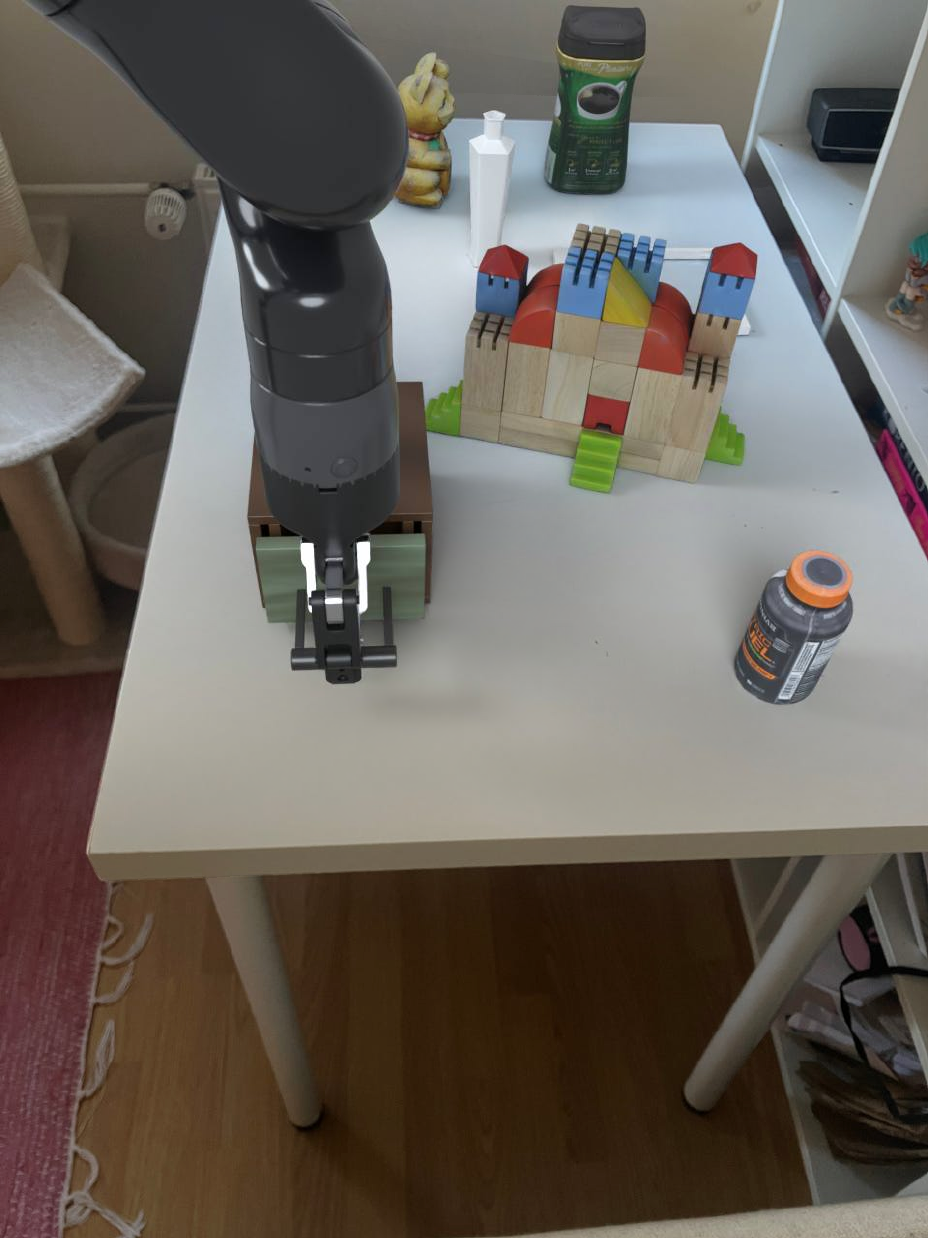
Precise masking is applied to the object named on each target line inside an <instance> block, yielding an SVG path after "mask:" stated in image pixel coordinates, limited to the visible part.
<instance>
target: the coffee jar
mask: <svg viewBox="0 0 928 1238" xmlns="http://www.w3.org/2000/svg"><path fill="white" fill-rule="evenodd" d="M646 38H647V25H646V18H645V15H644V12H643V11H642V10H641V8H640V7H637V6H636V7H619V6H618V7H617V6H587V5H573V4H568V5H567V6H566V7H565V9H564V12H563V15H562V19H561V25H560V28H559V32H558V36H557V39H556V47H555V54H556V60H557V64H558V70H559V75H558V84H557V85H558V86H557V94H556V101H555V106H554V111H553V117H552V121H551V127H550V130H549V131H550V132H549V137H548V142H547V146H546V152H545V157H544V168H543V170H544V171H543V172H544V173H543V174H544V177H545V178H544V179H545V181H546V182H547V184H548V185H549V186H550V187H552V188H553V189H555V190H556V191H558V192H562V193H569V194H590V195H591V194H592V195H597V194H598V195H600V194H613V193H616V192H617V191H618V190H620V189H621V188H622V187H624V185H625V183H626V176H627V170H628V169H627V168H628V155H629V139H630V138H629V136H630V135H629V134H630V121H631V109H632V99H633V92H634V86H635V82H636V78H637V75H638V73H639V72H640V70H641V68H642V66H643V64H644V61H645V58H646V46H647V45H646V44H647V40H646Z"/></svg>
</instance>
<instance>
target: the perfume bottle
mask: <svg viewBox="0 0 928 1238" xmlns="http://www.w3.org/2000/svg"><path fill="white" fill-rule="evenodd" d="M482 114H483V117H484V120H483V121H484V122H483V133H481V134H480V135H478V136H475V137H473V138H471V139H469V140H468V153H469V155H468V156H469V201H470V203H469V204H470V205H469V206H470V245H469V248H468V251H467V254H466V257H467V258H468V260H469V261H470V263H471V264H472V266H473V267H475V268H479V266H480V264H481V262H482V260H483V258H484V256H485V254H486V252H487V250H488V249H490V248H494V247H497V246H501V245H502V244H501V243H502V237H503V236H502V235H503V230H504V222H505V218H506V217H505V216H506V209H507V203H508V196H509V190H510V183H511V175H512V170H513V169H512V168H513V162H514V155H515V149H516V140H514V139H512V138H510V137H508V136H507V135H504V127H505V125H504V122H505V118H506V116H507V114H506V113H504V112H501V111H499V110H495V109H494V110H489V111H487V112H484V113H482Z"/></svg>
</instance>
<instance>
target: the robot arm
mask: <svg viewBox="0 0 928 1238" xmlns="http://www.w3.org/2000/svg"><path fill="white" fill-rule="evenodd" d="M21 1H22V2H23V3H24V4H26V5H27V6H29V8H31V9H32V10H33V11H34V12H36V13H37V14H39V15H40V16H42V18H44V19H45V20H46V21H48V22H49V23H50V24H52V25H53V26H54V27H56V28H57V29H58V30H59V31H60V32H62V33H63V34H65V36H68V37H69V38H71V39H72V40H74V41H75V42H76V43H78V44H79V45H81V46H82V47H83V48H84V49H86V50H87V51H89V52H90V53H91V54H93V56H95V57H96V58H97V59H98V60H100V61H101V62H102V63H103V64H104V65H105V66H106V67H107V68H108V69H109V70H111V71H112V72H113V73H114V74H115V75H116V76H117V77H118V78H119V79H120V80H121V81H122V82H123V83H124V84H125V86H127V87H128V88H129V89H130V90H131V92H132V93H133V94H134V95H135V96H136V97H137V98H138V99H139V100H140V102H142V103H143V105H144V106H145V107H146V108H147V109H148V110H150V112H151V113H152V114H153V115H154V116H155V117H156V118H157V119H159V121H160V122H162V124H163V125H165V126H166V128H168V130H169V131H170V132H171V133H173V134H174V136H176V137H177V138H178V139H179V140H180V141H181V143H183V145H185V146H186V147H187V149H189V150H190V152H192V153H193V154H194V156H196V157H197V158H198V159H199V160H200V161H201V162H202V163H203V164H204V165H205V166H206V167H207V168H208V169H209V170H210V171H212V172H213V173H214V176H215V180H216V183H217V188H218V192H219V196H220V199H221V203H222V207H223V211H224V215H225V220H226V224H227V227H228V230H229V234H230V238H231V240H232V244H233V249H234V255H235V261H236V267H237V273H238V281H239V282H238V283H239V295H240V297H239V299H240V308H241V317H242V323H243V329H244V335H245V343H246V350H247V356H248V361H249V362H248V363H249V372H250V373H249V374H250V379H249V381H250V382H249V383H250V384H249V401H250V410H251V417H252V418H251V419H252V424H253V430H254V432H255V437H256V444H257V450H258V457H259V463H260V469H261V476H262V482H263V489H264V495H265V500H266V504H267V506H268V508H269V510H270V512H271V514H272V515H273V516H274V518H275V519H276V520H277V521H278V522H279V523H280V524H282V525H283V526H284V527H286V528H287V529H289V530H290V531H292V532H294V533H296V534H299V535H301V560H302V563H303V564H304V566H305V567H306V572H307V592H308V608H309V611H310V612H311V613H312V619H313V622H312V629H313V635H314V636H313V638H314V646H315V648H316V655H315V664H318V670H317V671H324V676H325V681H326V682H327V683H330V684H331V685H353V684H356V683H359V682H361V680H362V678H363V677H362V673H363V671H362V668H361V662H363V653H362V654H361V652H360V650H361V646H362V645H364V635H362V634H361V633H362V631H361V620H360V614H361V613H363V612H365V611H366V609H367V607H368V588H367V564H368V563H369V561H370V555H371V552H370V533H367V532H369V531H371V530H373V529H374V528H376V527H377V526H379V525H380V524H382V523H383V522H384V521H385V520H386V519H387V518H388V517H389V516H390V515H391V513H392V512H393V510H394V509H395V507H396V505H397V502H398V499H399V495H400V443H399V397H398V387H397V382H398V380H397V376H396V371H395V365H394V341H393V338H394V337H393V335H394V334H393V297H392V296H393V295H392V285H391V280H390V275H389V270H388V265H387V262H386V260H385V257H384V254H383V251H382V250H381V247H380V245H379V242H378V241H377V238H376V236H375V233H374V230H373V227H372V224H371V220H373V219H374V218H376V217H377V216H378V215H380V214H381V213H382V212H383V211H384V210H385V209H386V208H387V207H388V205H389V204H390V203H391V202H392V200H393V199H394V198H395V197H396V196H395V194H396V193H397V191H398V189H399V187H400V185H401V182H402V180H403V177H404V174H405V170H406V166H407V161H408V154H409V132H408V124H407V118H406V114H405V110H404V106H403V104H402V101H401V98H400V96H399V93H398V91H397V89H398V88H397V87H396V85H395V84H394V82H393V79H392V78H391V76H390V75H389V74H388V72H387V71H386V69H385V68H384V66H383V65H382V63H381V62H380V61H379V60H378V59H377V57H376V56H375V55H374V53H373V52H372V51H371V50H370V48H369V47H368V46H367V45H366V43H365V42H364V40H363V39H362V37H360V36H359V34H358V33H357V31H356V30H355V29H354V28H353V26H352V25H351V24H350V22H349V21H348V20H347V18H346V17H344V15H343V14H342V13H341V12H340V10H338V9H337V8H336V7H335V6H334V5H333V4H332V3H331V2H330V1H329V0H21ZM317 576H318V578H319V579H320V581H321V582H322V583H323V584H325V590H318V586H317ZM356 579H358V592H357V589H344V587H343V585H350V584H352V583H353V582H354V581H355V580H356Z"/></svg>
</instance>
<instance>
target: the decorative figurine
mask: <svg viewBox="0 0 928 1238" xmlns="http://www.w3.org/2000/svg"><path fill="white" fill-rule="evenodd" d="M437 54H438V52H433V51H432V52H429V53H427V54H425V55H424V56H422V57H421V58H420V59H419V61H418V62H417V64H416V67H415V69H414V73H413V74H410V75H409V76H407V77H405V79H403V80H402V81H401V82H400V84H399V85H398V86H397V88H396V89H397V91H398V93H399V96H400V98H401V101H402V104H403V106H404V110H405V114H406V118H407V124H408V132H409V154H408V161H407V166H406V170H405V174H404V177H403V180H402V182H401V185H400V187H399V189H398V191H397V193H396V194H395V196H394V197H395V198H397V199H398V203H399V204H406V205H413V206H420V207H421V208H430V209H440V208H441V204H443V203H444V196H445V197H447V196H448V195H449V191H450V188H451V182H452V166H453V161H452V158H453V157H452V153H451V148H449V146H448V142H447V138H446V136H445V133H444V130H445V129H447V127H448V125H449V124H450V123H452V121H453V119H454V117H455V112H456V98H455V97H454V95H452V93H451V90H450V83H449V82H448V81H447V79H448V77H449V76H450V74H451V69H450V67H449V64H448V62H447V61H445V60H443V59H440V58H438V59H437Z"/></svg>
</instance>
